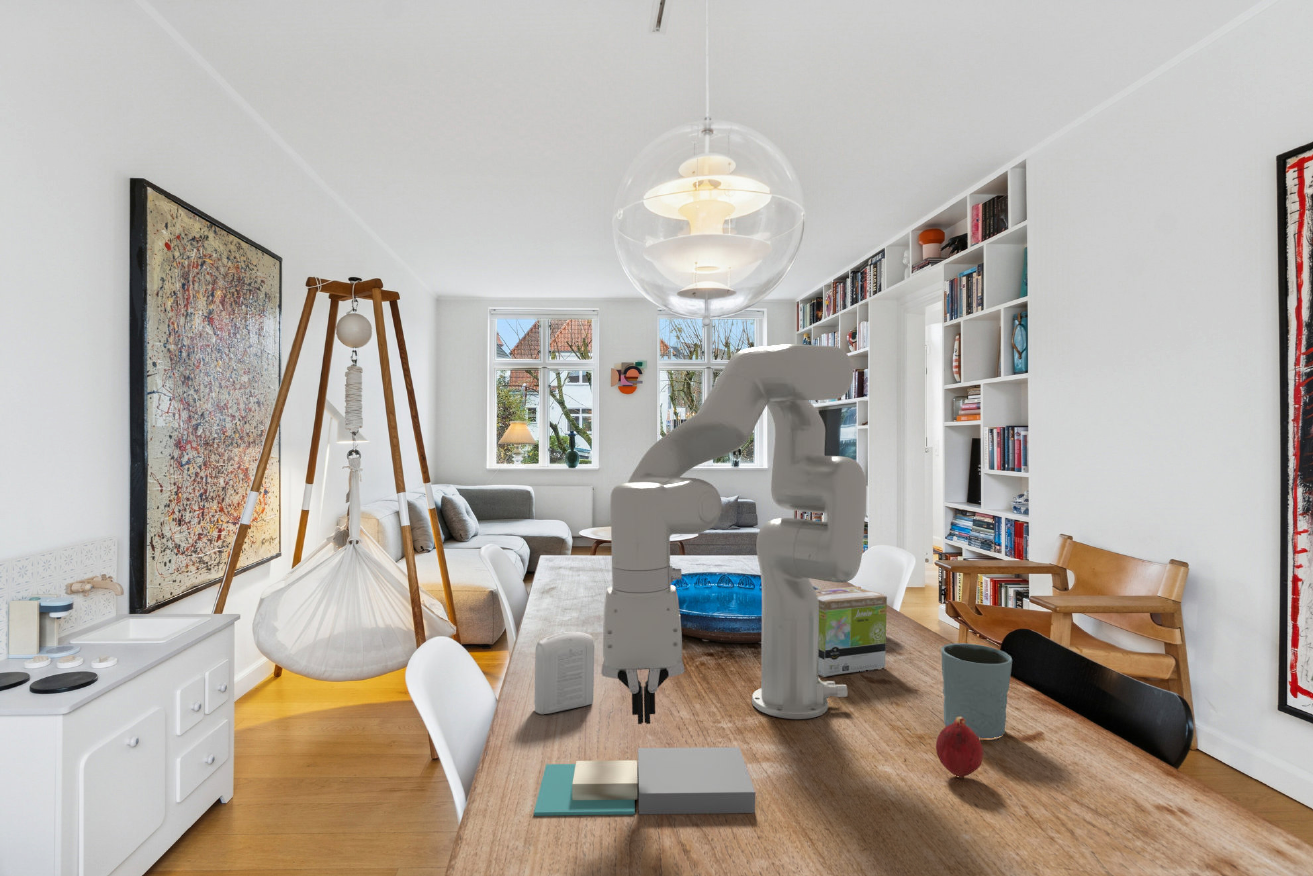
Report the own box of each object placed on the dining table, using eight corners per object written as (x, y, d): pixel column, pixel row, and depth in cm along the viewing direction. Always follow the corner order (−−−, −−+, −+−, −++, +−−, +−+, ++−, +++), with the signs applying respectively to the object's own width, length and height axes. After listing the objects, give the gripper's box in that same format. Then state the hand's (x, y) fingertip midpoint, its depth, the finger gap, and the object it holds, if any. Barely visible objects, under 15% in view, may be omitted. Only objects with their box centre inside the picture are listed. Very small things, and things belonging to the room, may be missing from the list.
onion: (980, 793, 87) (980, 730, 87) (932, 780, 90) (932, 720, 90) (985, 774, 92) (985, 715, 92) (940, 763, 95) (940, 706, 95)
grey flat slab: (739, 765, 94) (739, 747, 94) (755, 813, 82) (755, 792, 82) (637, 766, 93) (637, 748, 93) (638, 814, 82) (639, 793, 82)
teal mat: (633, 766, 93) (634, 763, 93) (634, 814, 81) (634, 811, 81) (546, 767, 93) (546, 764, 93) (533, 815, 81) (533, 812, 81)
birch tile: (636, 775, 90) (637, 760, 90) (637, 799, 84) (637, 783, 84) (576, 776, 90) (576, 761, 90) (572, 800, 84) (572, 784, 84)
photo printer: (585, 696, 119) (586, 625, 119) (597, 705, 115) (598, 631, 115) (530, 709, 113) (531, 634, 113) (541, 718, 109) (541, 641, 109)
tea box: (825, 679, 128) (825, 601, 129) (794, 663, 138) (794, 590, 138) (887, 669, 134) (888, 594, 135) (853, 654, 144) (854, 584, 144)
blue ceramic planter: (955, 711, 114) (956, 639, 114) (1021, 730, 107) (1021, 653, 107) (929, 728, 107) (930, 652, 107) (997, 750, 99) (998, 668, 99)
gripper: (696, 570, 92) (698, 705, 92) (584, 573, 91) (587, 709, 92) (702, 584, 84) (704, 730, 85) (581, 587, 84) (584, 735, 84)
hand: (643, 719), depth 88 cm, fingers closed
